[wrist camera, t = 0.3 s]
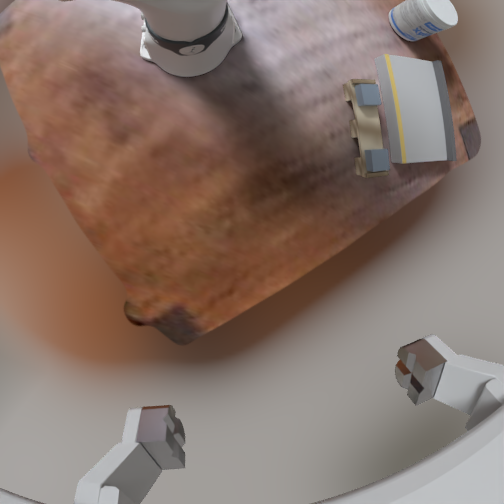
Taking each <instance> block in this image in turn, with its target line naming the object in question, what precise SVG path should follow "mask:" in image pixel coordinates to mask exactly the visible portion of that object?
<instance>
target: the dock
mask: <svg viewBox="0 0 504 504" xmlns="http://www.w3.org/2000/svg"><path fill="white" fill-rule="evenodd" d="M375 64H376V68H377V73H378V77H379V82H380V87H381V92H382V98H383V103H384V109H385V116H386V122H387V129H388V137H389V145H390V153H391V162H393V163H402V164H403V163H415V162H428V161H443V160H449V161H456V149H455V138H454V129H453V121H452V114H451V107H450V101H449V95H448V90H447V85H446V80H445V75H444V71H443V66H442V62H441V61H439V60H437V61H433V62H431V61H425V60H420V59H414V58H408V57H401V56H394V55H387V54H384V55H381V56H379V57H377V58H375Z"/></svg>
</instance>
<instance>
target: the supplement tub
mask: <svg viewBox="0 0 504 504" xmlns="http://www.w3.org/2000/svg"><path fill="white" fill-rule="evenodd" d="M389 21H390V24H391V26H392V28H393V29H394V31H395V32H396V33H397V34H398V35H399V36H401V37H402V38H404V39H405V40H408V41H417V40H419V39H422V38H424V37H427V36H429V35H432V34H435V33H437V32H440V31H442V30H446V29H448V28H451V27H452V26H454V25H456V24H457V22H458V17H457V13H456V10H455V8H454V6H453V5H452V3H451V2H450V1H449V0H406V1H404V2H402V3H401V4H399V5H398V6H396V7H394V8H393V9H392V10H391V11H390V12H389Z"/></svg>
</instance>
